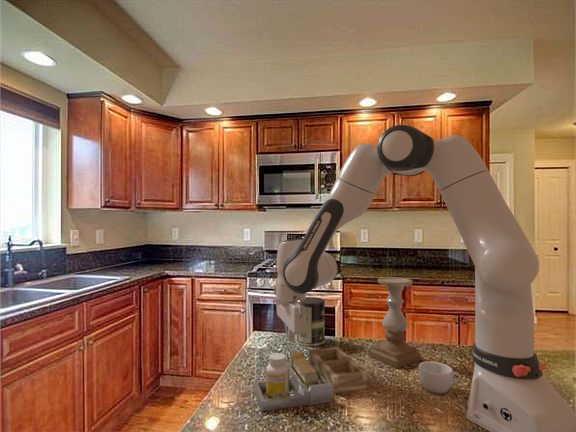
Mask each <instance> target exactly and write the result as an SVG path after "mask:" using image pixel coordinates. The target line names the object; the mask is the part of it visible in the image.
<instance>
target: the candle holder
mask: <svg viewBox="0 0 576 432" xmlns="http://www.w3.org/2000/svg"><path fill="white" fill-rule="evenodd" d="M377 282H378V284H380V285H384V286H385V287H386V289H387V290H388V296H387V298H386V299H385V301H386V302H387V305H388V310H387V312H386V314H385V315H384V317H383V319H382V326H383V328H384V329H385V330H386V331H385V332H384V338H385V339H384V340H383V341H382V342H380V343H377V344H374V345H373V347H372V349H370V350H369V357H370V358H372V359H374V360H377V361H379V362H381V363H384V364H385V365H388V366H390V367H392V368H395V369H400V368H404V367H406V366H407V367H408V366H410V365H412V364H415V363H418V362H420V361H421V359H422V358H421V357H422V354H421V353H419V352H418V349H417V348H416V347H413V346H411V345H408V343H407V342H405V340H406V334H405V333H404V331H406V330H407V329H408V321H407V319H406V317H405V315H404V314H403V313H402V309H401V308H402V306H403V303H405V301H404V299H403V298H402V292H403V290H404V289H405V287H407V286H408V287H410V286H411V285H413V282H414V281H413V280H412V279H409V278H406V277H398V276H397V277H395V276H386V277H380V278H378V279H377Z"/></svg>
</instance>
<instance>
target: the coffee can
mask: <svg viewBox="0 0 576 432" xmlns="http://www.w3.org/2000/svg"><path fill="white" fill-rule="evenodd" d="M301 302H302V303H301V304H303V305H304V306H305V308H306V318H307V331H306V333H305V334H297V335H295V340H294V341H295V342H296V344H298V345H301V346H304V347H305V346H306V347H317V346H321V345H323V344H325V341H326V340H325V337H326V336H325V303H326V302H325V299H324V298H321V297H314V296H306V299H305V300H304V301H301Z"/></svg>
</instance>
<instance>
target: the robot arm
mask: <svg viewBox="0 0 576 432" xmlns="http://www.w3.org/2000/svg"><path fill="white" fill-rule="evenodd" d="M425 172H426V173H427V174H428V175H429V176H430V177H431V178H432V180H433V181H434V184H435V185H436V187H437V189H438V191H439V194H440V195H441V197H442V199H443V202H444V203H445V207H446V208H447V209H448V212H449V215H451V218H452V219H453V222H454V224H455V226H456V228H457V231H458V233H459V235H460V237H461V239H462V241H463V243H464V246H465V248H466V250H467V252H468V254H469V256H470V258H471V261H472V263H473V264H474V271H475V272H474V277H475V278H474V282H475V283H474V290H475V292H474V295H475V297H474V298H475V300H474V301H475V302H474V304H475V306H474V307H475V309H474V310H475V311H474V313H475V316H474V317H475V318H474V319H475V323H474V324H475V325H474V328H475V329H474V330H475V331H474V333H475V335H474V336H475V337H474V338H475V339H474V340H475V341H474V343H473V344H472V345H473V347H472V352H471V353H472V360H473V362H474V366H473V367H474V368H473V373H472V378H471V386H470V392H469V397H468V399H467V401H466V406H467V407H466V408H467V410H466V415H465V418H466V419H467V420H468V421H470V422H472V423H474V424H475V425H477V426H479V427H481V428H482V429H484V430H486V431H488V432H576V413H575V410H574V409H573V407H571V405H570V404H569V403H568V402H567V401H566V400H565V399H564V398H563V397H562V395H561V394H560V393H559V392H558V391H557V390H556V389H555V388H554V387H553V386H552V385H551V384H550V382H549V381H548V380H547V379H546V378H545V377H544V375H543V371H544V370H547V369H548V367H547V365H548V363H540V361H539V359H538V355H537V354H536V351H535V312H534V311H535V310H534V306H533V294H532V293H533V292H532V283H533V282H534V281H535V279H536V278H537V276H538V273H539V271H540V270H539V269H540V261H539V258H538V255H537V254H536V252H535V250H534V248H533V246H532V244H531V243H530V240H529V239H528V237H527V236H526V234H525V232H524V231H523V229H522V227H521V225H520V224H519V222H518V221H517V219H516V217H515V215H514V214H513V212H512V210H511V209H510V207H509V206H508V204H507V202H506V200H505V199H504V197H503V195H502V193H501V191H500V189H499V187H498V185H497V184H496V182H495V179H494V178H493V176H492V175H491V172H490V171H489V169H488V167H487V165H486V163H485V162H484V160H483V158H482V157H481V156H480V154H479V153H478V151H477V150H476V149H475V147H474V146H473V144H471V143H470V141H469V140H468V139H467V137H464V136H462V135H457V134H456V135H455V134H454V135H448V136H445V137H443V138H440V139H438V140H434V139H433V137H432V136H430V135H428V134H427V133H425V132H423V131H422V130H419V129H418V128H417V127H414V126H412V125H407V124H397V125H393V126H391V127H389V128H387V129H385V131H384V132H383V133H382V134H381V135H380V137H379V140H378V142H377V145H375V144H371V143H359V144H358V145H356V146H355V147H354V148H353V149H352V151H351V152H350V153H349V155H348V156H347V158H346V159H345V162H344V163H343V165H342V167H341V168H340V170H339V173H338V175H337V177H336V179H335V181H334V184H333V186H332V188H331V189H330V192H329V194H328V195H327V197H326V199H325V201H324V203H323V204H322V205H321V207H320V208H319V210H318V211H317V213H316V215H315V216H314V218H313V220H312V221H311V223H310V225H309V227H308V229H307V231H306V233H305V235H304V236H303V238H291V239H285V240H282V241H281V242H280V243H279V245H278V247H277V253H276V272H277V277H276V278H277V279H276V283H275V284H276V286H274V288H273V293H274V295H275V309H276V315H277V316H278V317H279V319H280V320H282V321H281V322H283V323H284V328H285V334H286V335H285V338H286V339H287V340H288V341H289V342H294V341H295V339H296V335H297V334H305V333H306V331H307V318H306V308H305V306H304V305H303V304H301V303H302V302H301V301H304V300H305V299H306V297H307V293H309V292H310V291H312V290H314V289H317V288H320V287H322V286H324V285H327V284H330V282H333V281H334V280H335V278H336V277H337V274H338V264H337V261H336V259H335V257H334V256H333V255H332V254H330V253H328V252H326V249H327V248H328V246H329V244H330V242H331V241H332V239H333V237H334V235H335V234H336V233H337V232H338V230H340V229H341V228H342V227H343V226H345V225H346V224H348V223H349V222H351V221H353V220H356V219H357V218H360V217H361V216H362V215H363V214H364V213H365V212H366V211H367V209H368V208H369V207H370V206H371V204H372V202H373V201H374V199H375V196H376V195H377V192H378V190H379V188H380V185H381V184H382V183H383V180H384V179H385V178H386V177H387V176H388V175H396V176H404V177H415V176H419V175H422V174H424V173H425Z"/></svg>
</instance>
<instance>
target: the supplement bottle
mask: <svg viewBox="0 0 576 432" xmlns="http://www.w3.org/2000/svg"><path fill="white" fill-rule="evenodd" d="M286 360H287V356H286V354H284V353H281V352H275V353H271V354H270V355H268V363H269V364H267V366H266V367H265V368H266V370H265V371H266V378H265V380H266V390H265V391H266V399H271V398H278V397H285V396H290V388H289V377H290V373H289V367H288V365H287V364H288V363H286V362H287V361H286Z"/></svg>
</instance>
